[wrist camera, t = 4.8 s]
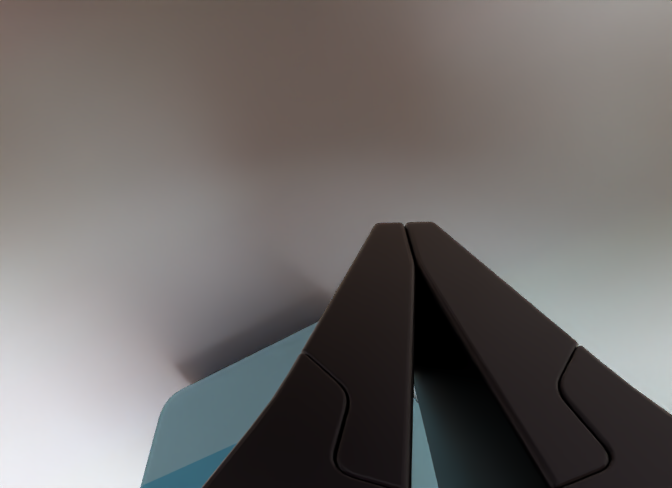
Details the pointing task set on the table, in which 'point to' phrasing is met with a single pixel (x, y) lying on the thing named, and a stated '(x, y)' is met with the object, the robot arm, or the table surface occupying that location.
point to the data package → (238, 419)
